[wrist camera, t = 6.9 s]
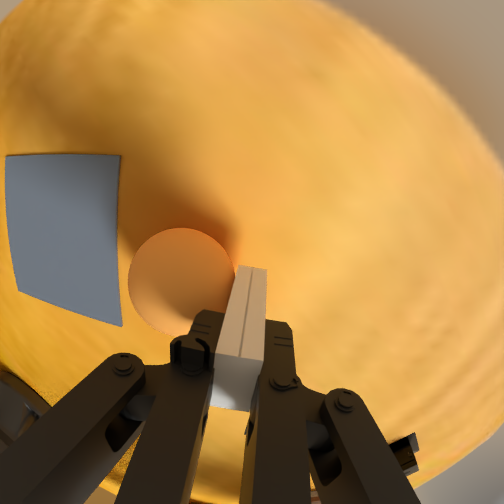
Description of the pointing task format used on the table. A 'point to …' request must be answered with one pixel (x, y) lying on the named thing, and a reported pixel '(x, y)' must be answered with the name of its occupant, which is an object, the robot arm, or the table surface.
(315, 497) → the wooden cubby shelf
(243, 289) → the robot arm
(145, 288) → the ball
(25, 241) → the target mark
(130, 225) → the table surface
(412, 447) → the black recessed block
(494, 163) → the table surface
